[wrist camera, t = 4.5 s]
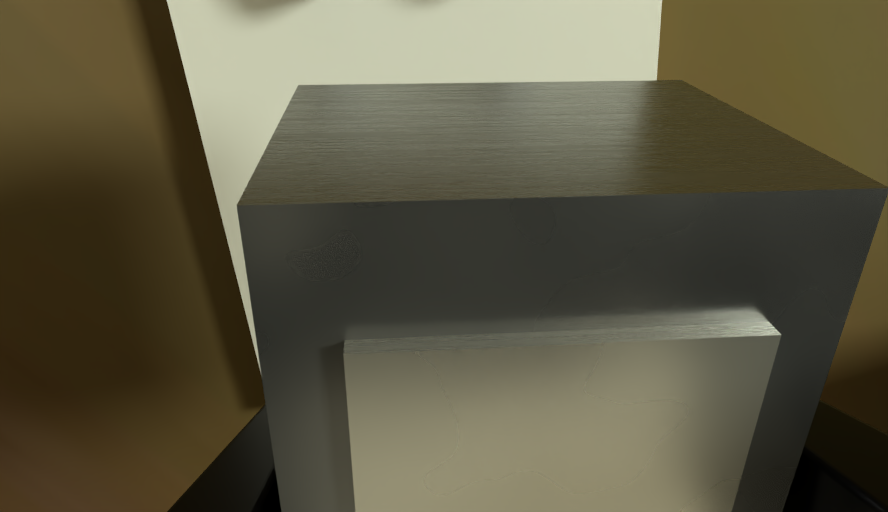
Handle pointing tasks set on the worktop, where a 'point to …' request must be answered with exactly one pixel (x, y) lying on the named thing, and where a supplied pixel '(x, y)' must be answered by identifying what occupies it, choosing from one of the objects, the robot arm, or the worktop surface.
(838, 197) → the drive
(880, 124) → the worktop surface
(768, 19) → the worktop surface
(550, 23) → the white peg board
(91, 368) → the worktop surface
